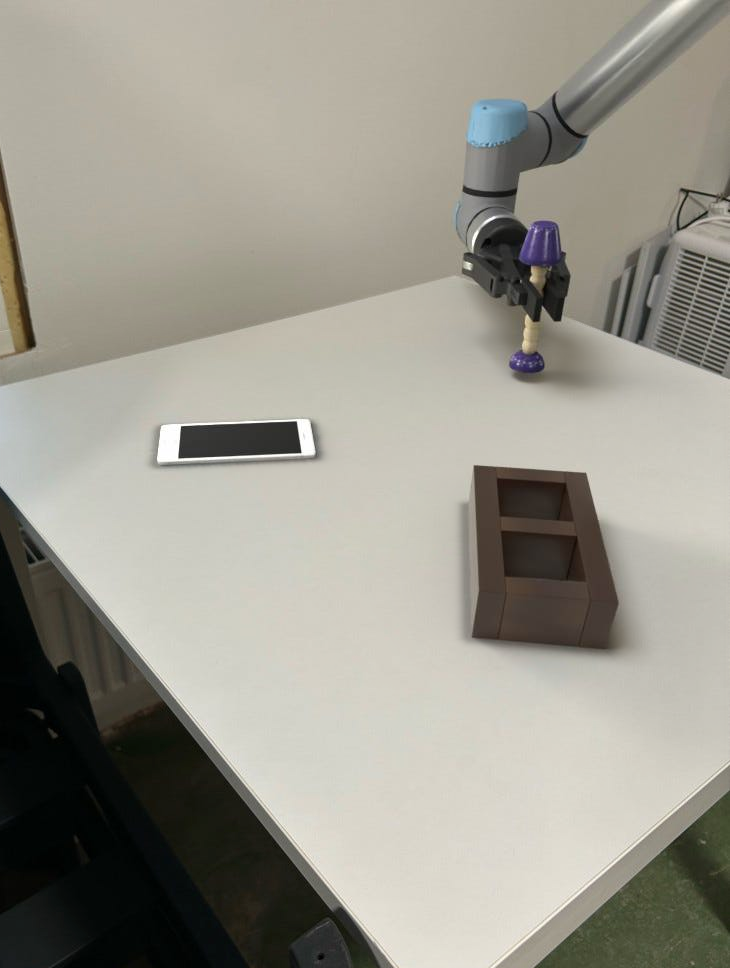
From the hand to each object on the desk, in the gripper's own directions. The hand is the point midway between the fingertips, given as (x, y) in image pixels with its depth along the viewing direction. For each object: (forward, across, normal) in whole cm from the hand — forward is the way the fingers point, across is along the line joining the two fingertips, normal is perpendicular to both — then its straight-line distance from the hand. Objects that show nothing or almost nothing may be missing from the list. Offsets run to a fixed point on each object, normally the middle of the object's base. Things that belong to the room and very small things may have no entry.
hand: (548, 309), depth 90 cm
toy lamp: (-6, 0, -9) cm, 11 cm away
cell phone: (+10, +34, -11) cm, 37 cm away
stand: (+32, +9, -11) cm, 35 cm away
